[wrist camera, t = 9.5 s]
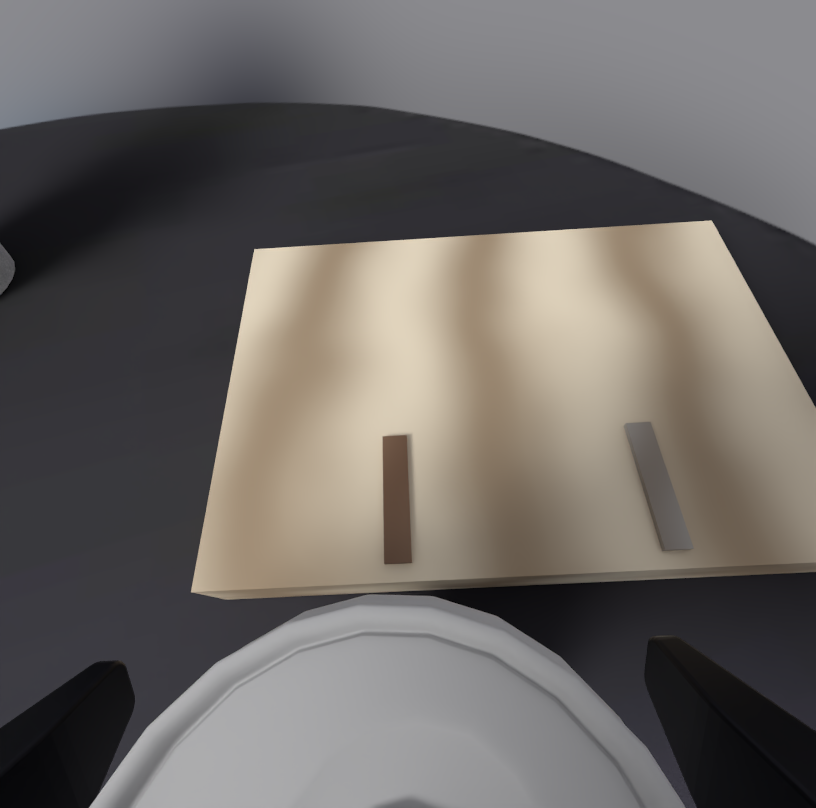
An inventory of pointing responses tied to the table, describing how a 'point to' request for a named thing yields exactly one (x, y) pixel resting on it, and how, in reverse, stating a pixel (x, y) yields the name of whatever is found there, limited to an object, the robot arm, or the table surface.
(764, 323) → the chopping board
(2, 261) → the house plant
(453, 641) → the beverage can
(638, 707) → the table surface
